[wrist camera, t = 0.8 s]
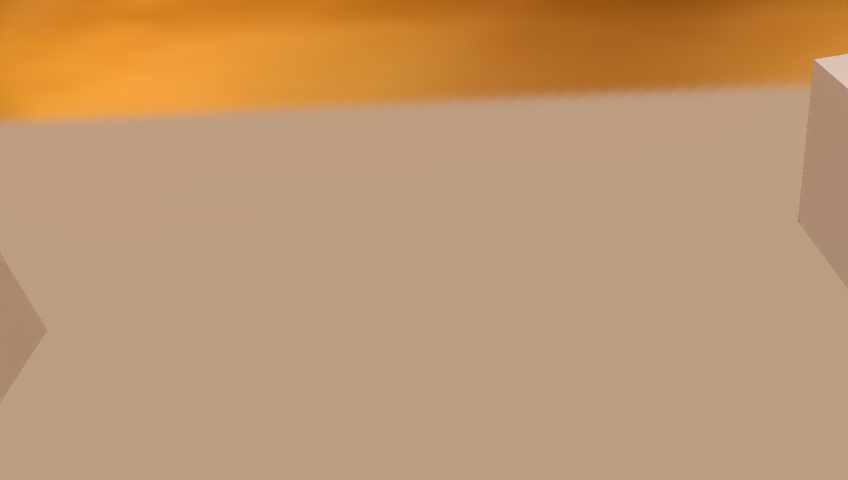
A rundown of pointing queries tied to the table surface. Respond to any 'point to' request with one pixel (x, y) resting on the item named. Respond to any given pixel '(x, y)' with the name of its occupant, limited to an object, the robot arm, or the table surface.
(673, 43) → the table surface
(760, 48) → the table surface
